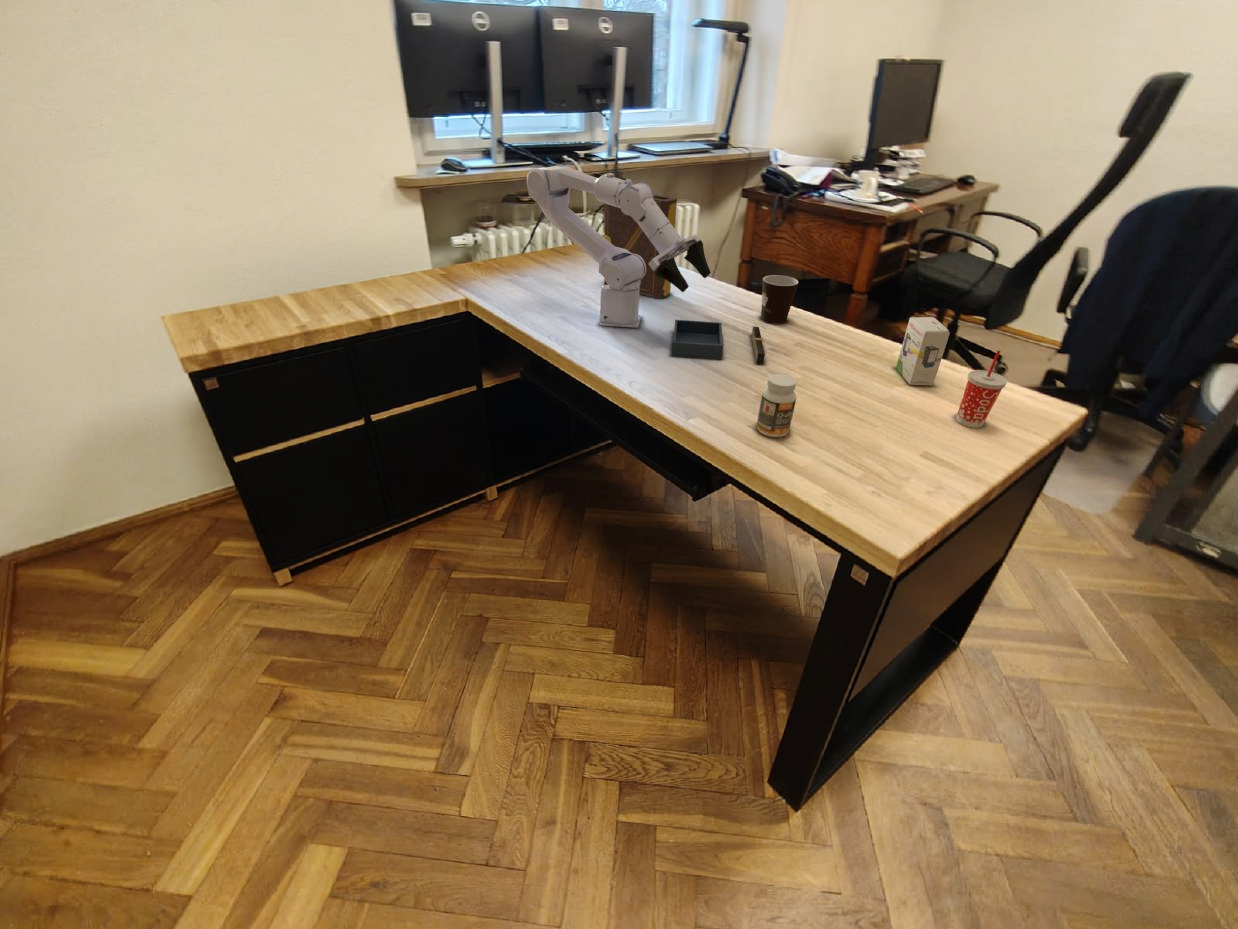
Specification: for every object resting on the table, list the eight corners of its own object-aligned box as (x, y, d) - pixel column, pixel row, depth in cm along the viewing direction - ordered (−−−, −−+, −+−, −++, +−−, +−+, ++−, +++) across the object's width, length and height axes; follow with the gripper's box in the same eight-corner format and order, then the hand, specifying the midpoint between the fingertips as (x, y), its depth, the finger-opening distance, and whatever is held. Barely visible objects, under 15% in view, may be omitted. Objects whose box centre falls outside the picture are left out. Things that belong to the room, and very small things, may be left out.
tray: (671, 356, 129) (672, 342, 127) (674, 332, 141) (675, 319, 139) (721, 359, 128) (723, 345, 127) (719, 335, 140) (721, 322, 138)
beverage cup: (952, 425, 107) (981, 354, 99) (949, 410, 112) (977, 341, 104) (989, 432, 105) (1022, 360, 97) (985, 416, 110) (1015, 347, 102)
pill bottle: (778, 442, 101) (789, 390, 95) (749, 430, 104) (758, 379, 98) (794, 429, 104) (805, 379, 99) (766, 418, 107) (775, 369, 102)
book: (674, 292, 165) (681, 197, 151) (659, 300, 159) (666, 202, 145) (609, 278, 175) (610, 187, 161) (593, 285, 169) (593, 191, 155)
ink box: (933, 386, 120) (953, 331, 113) (908, 385, 120) (926, 330, 113) (917, 368, 127) (934, 316, 120) (893, 367, 127) (909, 315, 120)
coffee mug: (791, 326, 146) (799, 287, 140) (756, 323, 147) (762, 284, 141) (789, 311, 155) (797, 273, 149) (756, 308, 156) (762, 270, 151)
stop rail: (755, 363, 127) (757, 352, 125) (750, 336, 140) (752, 325, 139) (763, 364, 127) (765, 353, 125) (757, 336, 140) (759, 326, 138)
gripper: (645, 233, 122) (684, 286, 123) (690, 209, 129) (727, 259, 129) (632, 252, 128) (668, 302, 129) (675, 228, 135) (710, 276, 135)
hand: (696, 282), depth 129 cm, fingers open, 7 cm apart
